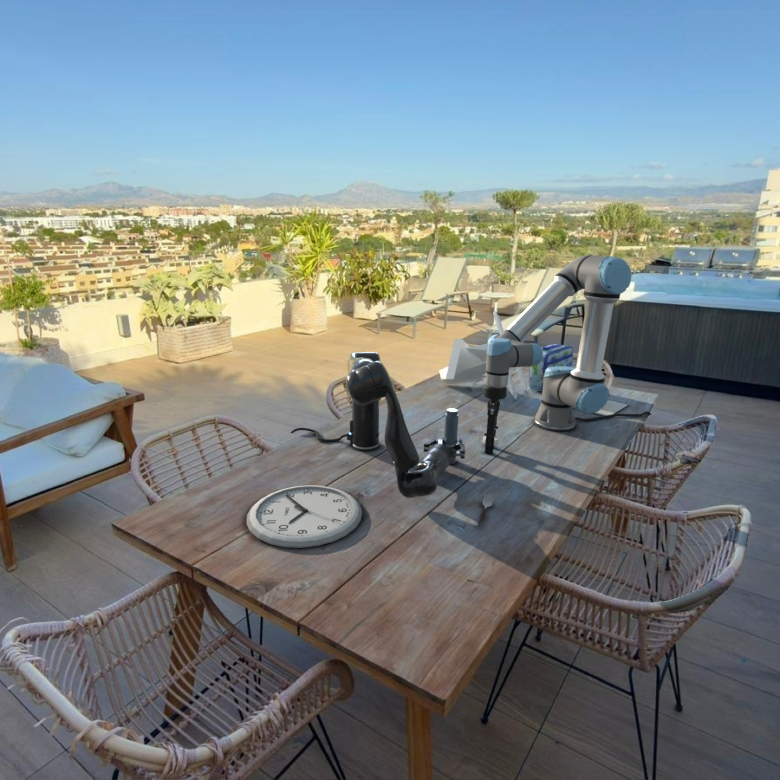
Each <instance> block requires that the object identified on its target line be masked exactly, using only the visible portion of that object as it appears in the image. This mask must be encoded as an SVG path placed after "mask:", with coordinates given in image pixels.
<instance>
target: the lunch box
mask: <svg viewBox="0 0 780 780" xmlns="http://www.w3.org/2000/svg"><path fill="white" fill-rule="evenodd" d="M541 348H542V351H543V359H542V361H541V363H540V364H538V365H535V366H530V367H529V374H528V375H529V376H528V387H529V388H528V389H530V390H534V391H539V392H542V391H543V380H544V374H545V370H546V369H547V368H549V367H556V366H566V367H573V358H574V349H573V346H571V345H565V344H558V343H553V344H548V345H546V346H542V347H541Z"/></svg>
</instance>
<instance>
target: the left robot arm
mask: <svg viewBox="0 0 780 780" xmlns="http://www.w3.org/2000/svg"><path fill="white" fill-rule="evenodd" d="M346 365H347V367H346V368H347V375H346V378H345V385H346V389H347V392H348V394H349V397H350V399H351V419H350V420H349V431H348V432H347V433H344V434H342V435H340V437H338V438H332V439H326V438H321V437H320V436H319V435H320V433H319V431H318V430H315V429H312V428H308V427H296V428H294V429H293V430H291V431H290V434H294V433H295V432H297V431H306V432H311V433H314V434H315V437H316V439H317V440H318V441H320V442H324V443H325V442H326V443H332V442H339V441H341V440H342V439H343V438H346V440H347V441H349V447H352V448H353V449H355V450H358V451H373V450H376V449H378V448H379V447H380V433H381V432H380V399H383V398H384V399H385V401H386V406H387V407H386V408H387V414H386V415H387V417H386V424H385V429H384V445H385V448H386V450H387V453H388V455H389V457H390V460H391V461H392V463H393V466H394V470H395V475H396V483H397V488H398V492H399V493H400V494H401V495H402V496H403V497H404V498H407V499H413V498H420V497H425V496H427V497H428V496H430V495H432V494H434V493H435V492H436V491H437V488H438V480H439V477H440V476H441V475H442V474H443V473H444V472H445V471H446V470H447V468H448V467H449V465H451V464H450V463H451V461H452V459H453V458H455V457H456V458H457V457H459V458H460V459H462V460H464V459H465V458H466V445H465V444H464V443H463V440H462V438H457V442H456V443H452V444H450V445H444V436H442V437H441V438H440V439H438V440H437V439H436V438H432V439H430V440H428V441H426V442H424V443H423V452H424V453H425V454H424V455H423V456H422V458H421V459H420V454H419V453H418V451H417V448H416V446H415V443H414V441H413V440H412V439H413V438H412V437H411V435H410V432H409V430H408V426H407V423H406V421H405V417H404V414H403V410H402V407H401V404H400V401H399V398H398V395H397V392H396V389H395V386H394V383H393V381H392V378H391V376H390V373H389V372H388V370H387V368H386V367H385V365H384V363H383V362H381V357H380V354H379V353H378V352H376V351H357V352H355V351H354V352H352V353H351V354H349V356H348V359H347V364H346ZM414 467H415V468H414ZM413 468H414V470H411V469H413ZM410 470H411V471H410Z"/></svg>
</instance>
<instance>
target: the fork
mask: <svg viewBox="0 0 780 780" xmlns="http://www.w3.org/2000/svg"><path fill="white" fill-rule="evenodd" d="M487 492H488V491H487ZM487 492H485V494H484V497H483V500H482V506H483V507H484V508H483V509H482V511H481V512H480V515H479V520H478V525H477V526H478V527H480V525H481V523H482V522H483V520H484V519H485V516H486V511H487V508H489V507H492V505H493V500H494V493H490V494H489V492H488V493H487ZM486 494H487V495H486Z"/></svg>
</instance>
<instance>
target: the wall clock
mask: <svg viewBox="0 0 780 780" xmlns="http://www.w3.org/2000/svg"><path fill="white" fill-rule="evenodd" d="M362 516H363V509H362V507H361V504H360V503H359V501H358V500H357V499H356V498H355V497H354V496H352V495H350V494H349V493H348V492H346V491H344V490H341V489H338V488H335V487H330V486H325V485H311V484H310V485H309V484H307V485H296V486H290V487H287V488H286V487H285V488H282V489H280V490H276V491H274V492H271V493H268V494H267V495H266V496H264V497H262V498H260V499H259V500H257V502H255V504H253V505H252V506H251V507H250V509H249V511H248V513H247V514H246V526H247V528H248V531H249V532H250V534H252V535H253V536H254V537H255V538H256V539H258V540H260V541H262V542H265V543H267V544H269V545H272V546H277V547H282V548H294V549H295V548H297V549H301V548H302V549H304V548H312V547H318V546H322V545H327V544H330V543H333V542H336V541H338V540H340V539H343V538H344V537H346V536H348V535H349V534H351V533H352V532H353V531H354V530H355V529H357V527H358V525H360V522H361V521H362Z"/></svg>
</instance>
